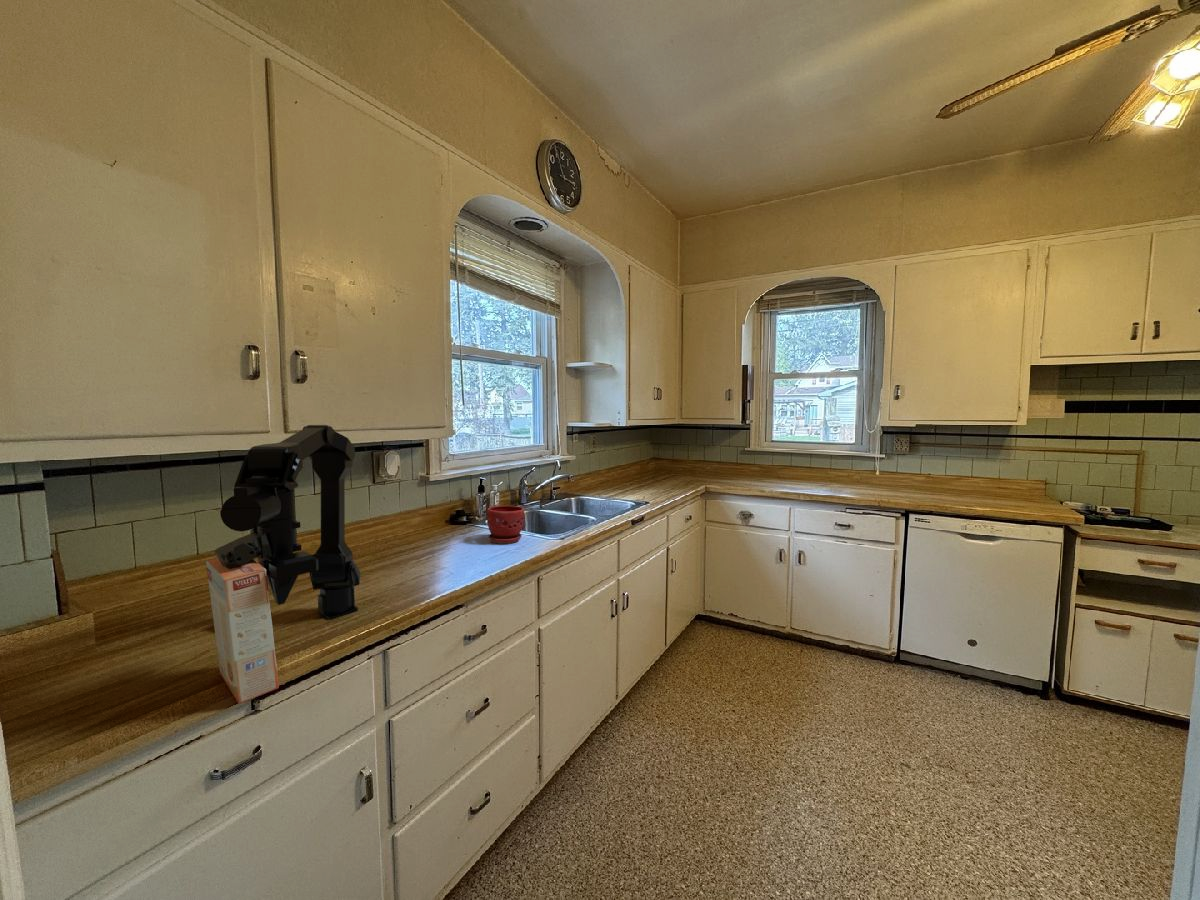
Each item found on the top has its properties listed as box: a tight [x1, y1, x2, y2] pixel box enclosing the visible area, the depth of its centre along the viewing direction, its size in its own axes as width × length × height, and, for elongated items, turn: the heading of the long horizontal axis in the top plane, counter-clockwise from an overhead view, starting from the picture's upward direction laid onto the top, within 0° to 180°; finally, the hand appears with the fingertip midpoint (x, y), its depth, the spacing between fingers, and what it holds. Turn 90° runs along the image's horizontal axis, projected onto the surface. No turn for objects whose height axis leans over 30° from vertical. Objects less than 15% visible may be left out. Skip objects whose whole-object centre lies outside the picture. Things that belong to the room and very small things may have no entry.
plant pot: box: [486, 505, 525, 544], centre depth 169 cm, size 13×13×12 cm
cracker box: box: [205, 557, 279, 705], centre depth 80 cm, size 14×6×21 cm, turn 48°
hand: (280, 603), depth 84 cm, fingers closed
